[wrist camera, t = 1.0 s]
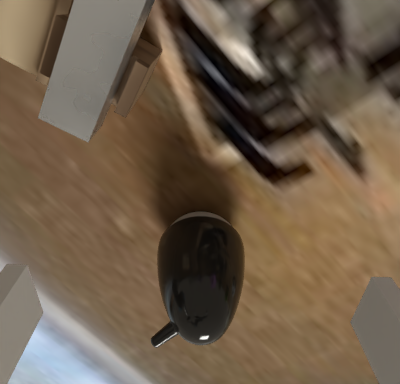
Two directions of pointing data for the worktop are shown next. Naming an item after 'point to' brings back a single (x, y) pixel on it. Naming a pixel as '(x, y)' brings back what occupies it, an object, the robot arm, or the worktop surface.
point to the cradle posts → (133, 76)
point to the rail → (92, 63)
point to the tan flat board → (28, 31)
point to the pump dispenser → (199, 277)
